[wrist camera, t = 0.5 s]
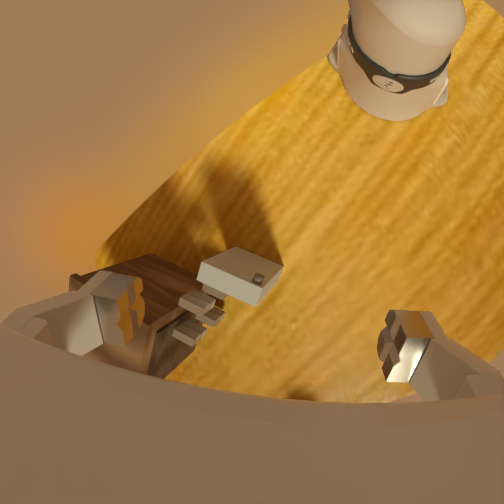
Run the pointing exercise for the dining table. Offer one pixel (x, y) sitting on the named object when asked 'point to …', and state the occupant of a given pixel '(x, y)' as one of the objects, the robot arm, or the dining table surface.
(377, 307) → the dining table surface
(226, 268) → the door
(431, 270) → the dining table surface
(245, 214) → the dining table surface
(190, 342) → the cabinet
